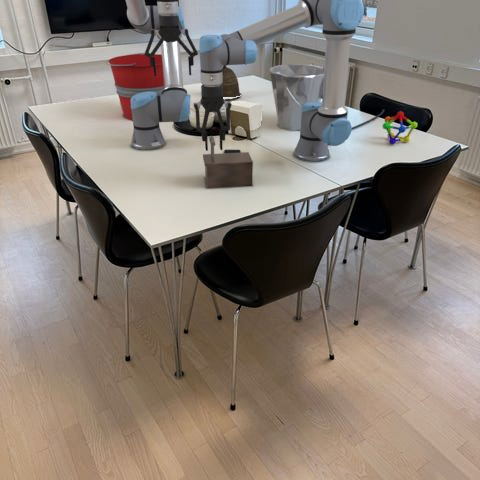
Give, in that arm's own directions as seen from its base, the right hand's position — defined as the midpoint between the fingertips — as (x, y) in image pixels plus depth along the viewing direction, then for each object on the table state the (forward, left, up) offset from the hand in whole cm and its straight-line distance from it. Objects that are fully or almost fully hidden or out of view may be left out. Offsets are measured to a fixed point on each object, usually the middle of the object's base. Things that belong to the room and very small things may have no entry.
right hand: (213, 149), depth 165 cm
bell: (-80, -102, -14) cm, 130 cm away
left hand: (-2, -30, +21) cm, 36 cm away
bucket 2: (-75, -33, -14) cm, 83 cm away
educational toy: (-94, +15, -14) cm, 97 cm away
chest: (-5, +3, -14) cm, 15 cm away
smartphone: (-21, -17, -14) cm, 30 cm away
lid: (-4, +3, -5) cm, 7 cm away
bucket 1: (-22, -99, -14) cm, 102 cm away
